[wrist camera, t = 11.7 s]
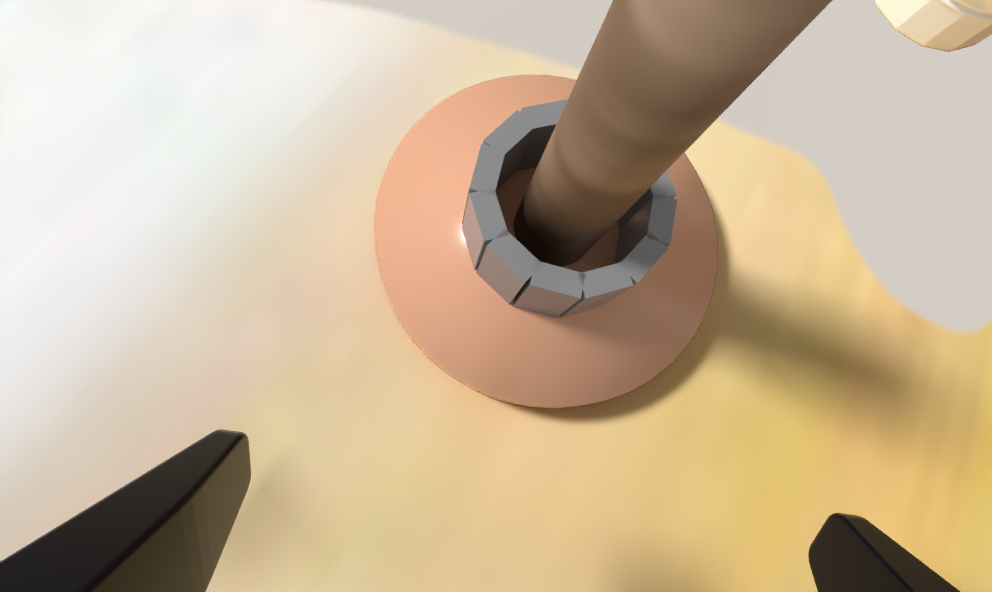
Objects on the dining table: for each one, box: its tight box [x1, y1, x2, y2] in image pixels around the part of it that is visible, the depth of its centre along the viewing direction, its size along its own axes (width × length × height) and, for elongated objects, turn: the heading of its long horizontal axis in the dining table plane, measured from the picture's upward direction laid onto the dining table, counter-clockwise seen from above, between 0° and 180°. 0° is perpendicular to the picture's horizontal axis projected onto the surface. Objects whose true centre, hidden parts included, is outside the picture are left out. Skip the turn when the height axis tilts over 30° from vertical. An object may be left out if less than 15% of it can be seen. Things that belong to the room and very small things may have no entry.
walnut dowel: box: [514, 0, 832, 267], centre depth 13 cm, size 3×3×13 cm
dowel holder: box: [374, 75, 718, 408], centre depth 19 cm, size 13×13×4 cm
